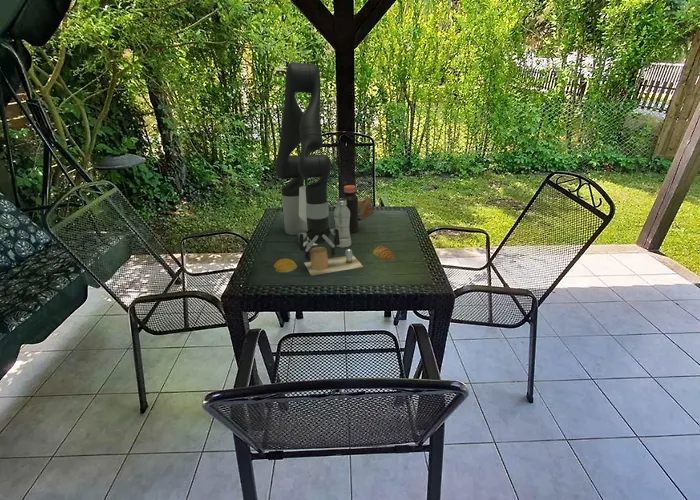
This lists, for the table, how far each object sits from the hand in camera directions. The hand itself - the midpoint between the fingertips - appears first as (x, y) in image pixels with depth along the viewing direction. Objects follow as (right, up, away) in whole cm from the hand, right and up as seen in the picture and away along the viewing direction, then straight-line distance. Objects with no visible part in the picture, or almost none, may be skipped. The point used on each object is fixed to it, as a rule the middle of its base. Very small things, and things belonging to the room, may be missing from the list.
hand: (319, 258), depth 150 cm
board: (+5, -4, +4) cm, 7 cm away
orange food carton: (+17, +19, +55) cm, 61 cm away
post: (+10, -1, +5) cm, 11 cm away
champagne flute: (-6, +5, +24) cm, 25 cm away
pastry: (+24, 0, +11) cm, 26 cm away
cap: (0, -3, +2) cm, 3 cm away
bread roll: (-13, -5, +3) cm, 14 cm away
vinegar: (+11, +11, +38) cm, 41 cm away
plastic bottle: (+8, +4, +21) cm, 22 cm away
